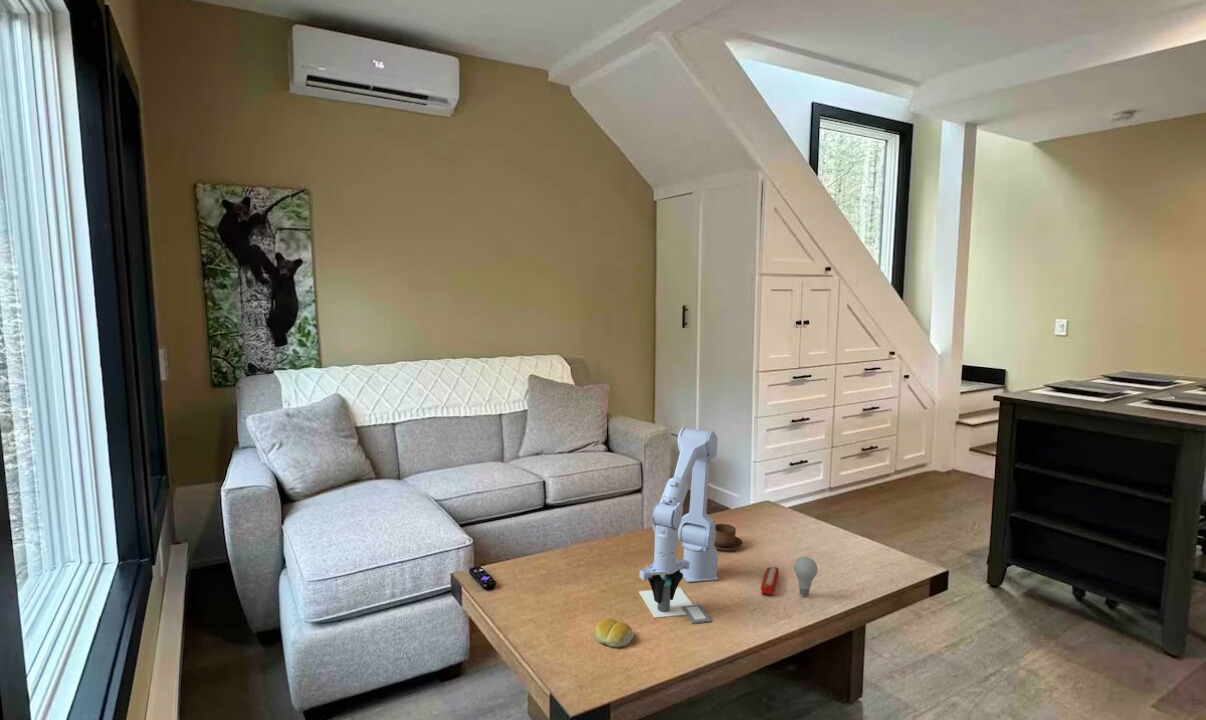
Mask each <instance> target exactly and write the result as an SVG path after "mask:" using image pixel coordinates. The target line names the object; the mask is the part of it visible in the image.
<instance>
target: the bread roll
mask: <svg viewBox="0 0 1206 720" xmlns="http://www.w3.org/2000/svg"><path fill="white" fill-rule="evenodd" d="M594 637H595V639H596V641H597V642H598V643H600V644H601V645H606V646H608V647H609V648H623V647H625V646H627V645H628V644H630V642H631V641H632V640H633V639H634V631H633V628H632V627H631V626H630V625H629V624H628V623H626V622H624V621H623V622H622V621H619V622H618V621H617V620H615V619H613V618H606V619H603V620H601V621H600V622H597V625H596V626H595V629H594Z"/></svg>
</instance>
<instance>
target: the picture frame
mask: <svg viewBox="0 0 1206 720" xmlns="http://www.w3.org/2000/svg"><path fill="white" fill-rule="evenodd" d="M682 609H683V610H684V612H685V613H686V615H685V616H687V619H688V620H689V621H690V622H691V624H693V625H695V624H696V625H698V624H705V623H706V624H707V623H712V622H713V621H712V619H711V618H710V616H709V615H708V613H707V612H706V611H705V610H704V608H703V607H702V606H701V605H700V604H693V605H690V606H682Z"/></svg>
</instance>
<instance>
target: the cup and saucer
mask: <svg viewBox="0 0 1206 720" xmlns="http://www.w3.org/2000/svg"><path fill="white" fill-rule="evenodd" d="M715 530H716V539H715V543H714V546H715V548H716V550H718V551H727V552H728V551H735V550H738V549H739V548H741V547H742V546H743V541H742V539H741V538H739V537H738V536H736V532H737V531H736V530H737V529H736V527H735V526H734V525H730V524H728V523H727V524H726V523H718V524H715Z"/></svg>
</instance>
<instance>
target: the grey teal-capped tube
mask: <svg viewBox="0 0 1206 720" xmlns="http://www.w3.org/2000/svg"><path fill="white" fill-rule="evenodd" d="M660 577H661V579H663V580H664V581H665V583H664V586H663V591H662V601H661V603H660V604H658V605H657V609H658V610H659V611H662V612H667V611H669V610H670V590H671V578H669V577H666V576H665V575H663V576H662V575H660Z"/></svg>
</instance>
